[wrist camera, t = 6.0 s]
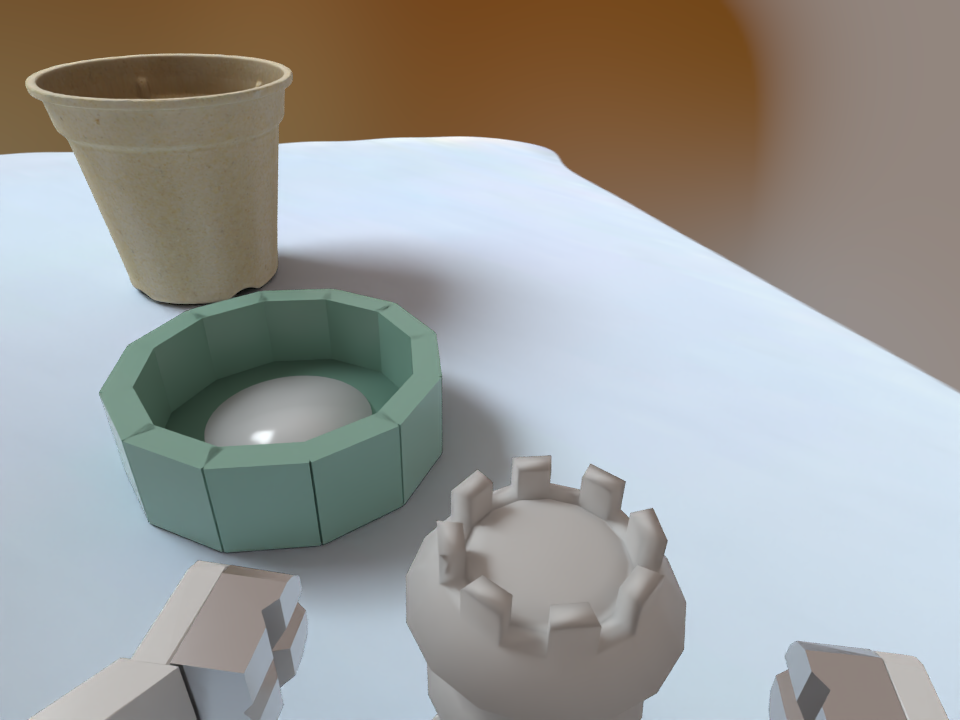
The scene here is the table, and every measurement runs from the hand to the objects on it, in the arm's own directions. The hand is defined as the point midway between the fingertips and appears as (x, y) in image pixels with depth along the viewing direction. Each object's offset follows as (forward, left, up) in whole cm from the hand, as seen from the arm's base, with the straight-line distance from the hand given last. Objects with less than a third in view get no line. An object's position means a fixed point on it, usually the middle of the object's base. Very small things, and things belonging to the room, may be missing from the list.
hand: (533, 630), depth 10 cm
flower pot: (-10, +23, -5) cm, 26 cm away
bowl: (-5, +11, -5) cm, 13 cm away
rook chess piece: (0, -1, -5) cm, 5 cm away
